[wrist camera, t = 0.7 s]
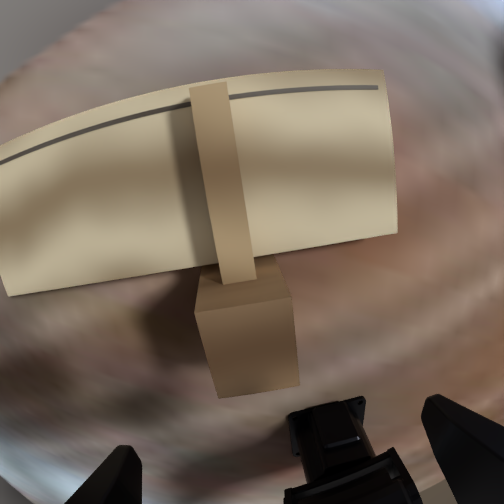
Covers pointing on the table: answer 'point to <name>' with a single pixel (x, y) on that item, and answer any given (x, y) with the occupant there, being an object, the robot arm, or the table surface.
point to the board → (195, 179)
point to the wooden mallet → (238, 271)
